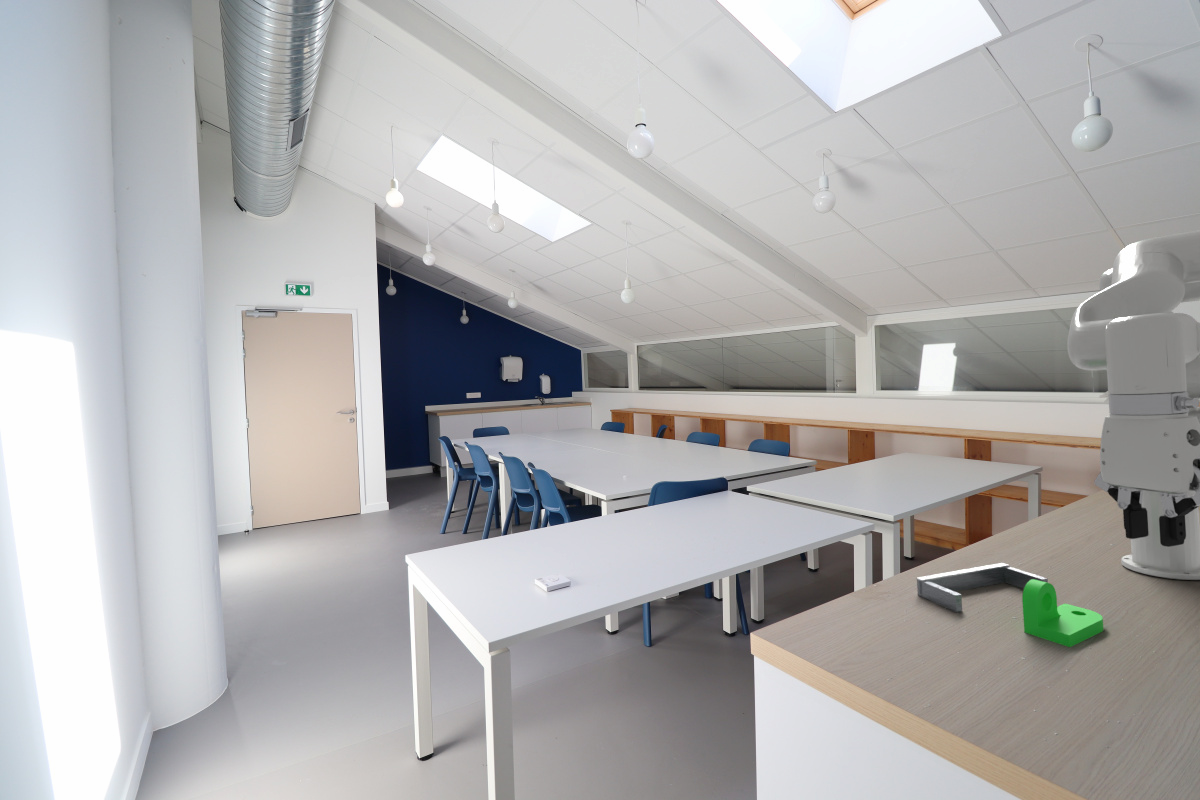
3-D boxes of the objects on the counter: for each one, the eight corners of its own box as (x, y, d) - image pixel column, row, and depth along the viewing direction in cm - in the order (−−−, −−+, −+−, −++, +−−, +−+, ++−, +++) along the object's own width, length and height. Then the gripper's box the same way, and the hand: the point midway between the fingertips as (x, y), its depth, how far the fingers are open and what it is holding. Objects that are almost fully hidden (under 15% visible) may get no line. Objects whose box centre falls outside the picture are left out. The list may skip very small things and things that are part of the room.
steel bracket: (1003, 579, 108) (1002, 562, 108) (1048, 594, 99) (1047, 576, 99) (917, 594, 103) (916, 577, 103) (956, 612, 95) (955, 593, 95)
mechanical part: (1070, 648, 81) (1066, 595, 81) (1024, 633, 86) (1021, 583, 86) (1111, 628, 86) (1108, 577, 86) (1065, 615, 91) (1062, 567, 91)
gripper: (1250, 404, 67) (1258, 554, 67) (1100, 403, 83) (1107, 524, 83) (1205, 409, 65) (1213, 562, 65) (1061, 407, 81) (1068, 530, 81)
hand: (1154, 539), depth 74 cm, fingers open, 3 cm apart
